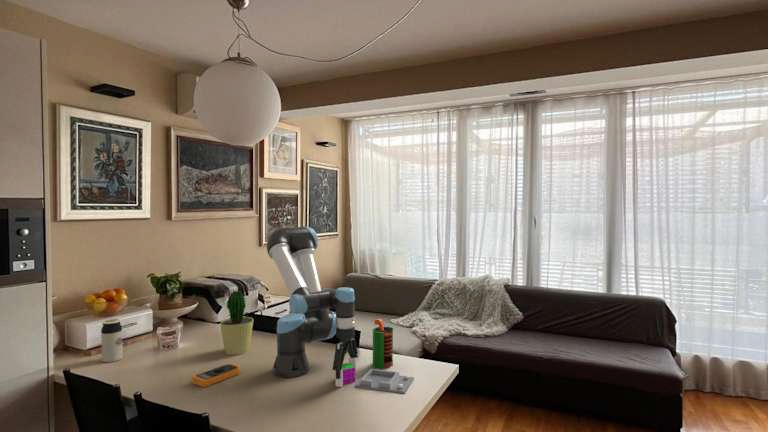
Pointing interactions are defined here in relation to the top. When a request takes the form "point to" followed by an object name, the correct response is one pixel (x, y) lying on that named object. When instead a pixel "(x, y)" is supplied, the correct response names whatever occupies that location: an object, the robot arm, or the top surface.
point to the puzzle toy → (348, 373)
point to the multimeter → (216, 375)
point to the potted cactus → (236, 326)
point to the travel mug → (111, 340)
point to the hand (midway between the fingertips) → (345, 379)
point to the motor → (382, 346)
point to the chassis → (385, 381)
